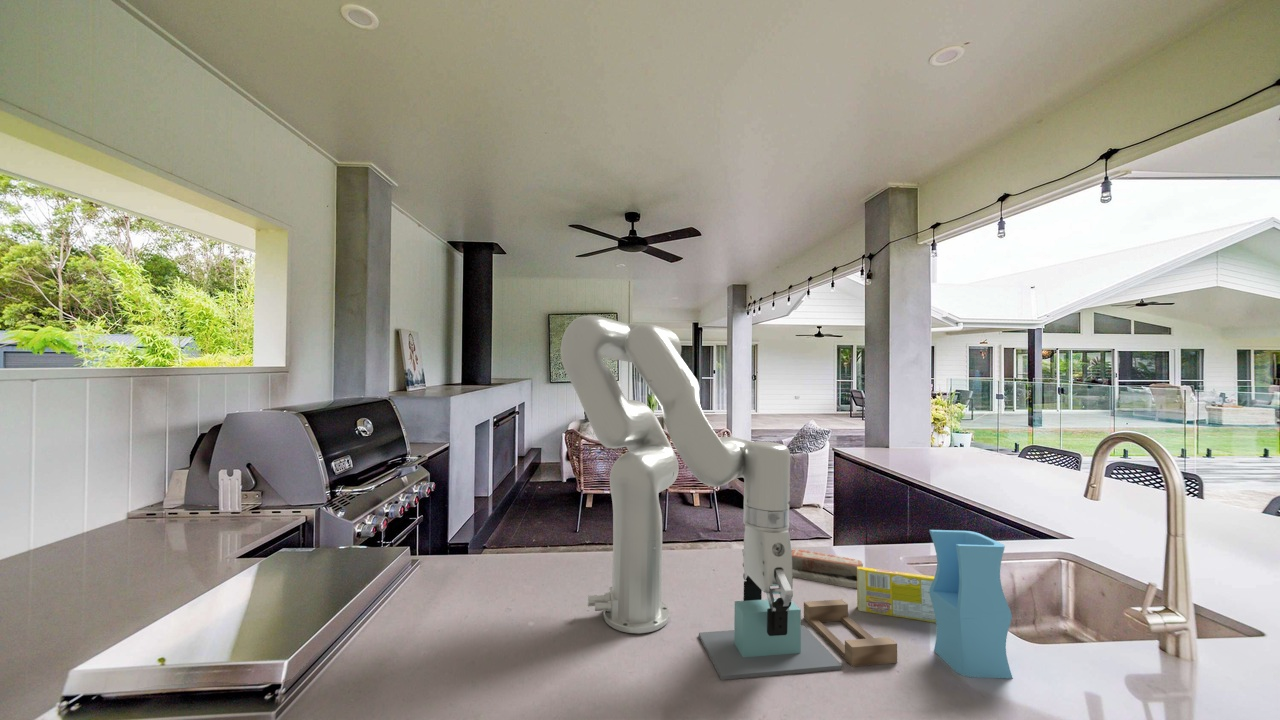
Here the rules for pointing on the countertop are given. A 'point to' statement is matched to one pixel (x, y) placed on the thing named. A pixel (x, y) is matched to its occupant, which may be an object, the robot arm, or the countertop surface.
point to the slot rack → (858, 649)
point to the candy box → (895, 594)
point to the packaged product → (825, 568)
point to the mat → (766, 657)
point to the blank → (764, 630)
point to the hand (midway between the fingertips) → (763, 618)
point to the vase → (970, 604)
